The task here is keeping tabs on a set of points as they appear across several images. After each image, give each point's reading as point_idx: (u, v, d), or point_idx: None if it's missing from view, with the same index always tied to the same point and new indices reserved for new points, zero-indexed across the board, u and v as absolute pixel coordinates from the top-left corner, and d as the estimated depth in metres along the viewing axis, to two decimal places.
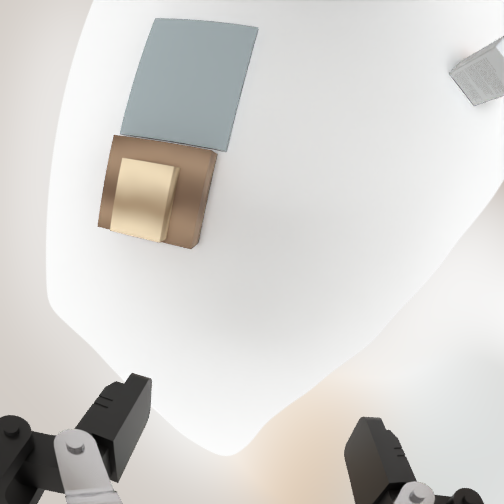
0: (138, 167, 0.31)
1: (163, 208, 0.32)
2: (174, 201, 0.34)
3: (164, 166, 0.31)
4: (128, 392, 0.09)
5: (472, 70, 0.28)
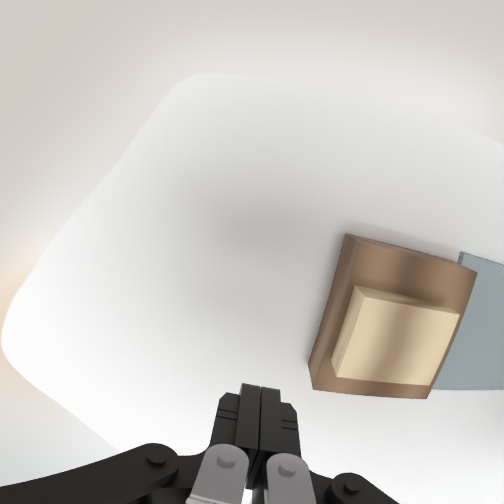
0: (441, 340, 0.20)
1: (383, 380, 0.20)
2: None
3: (433, 374, 0.20)
4: (249, 401, 0.10)
5: None
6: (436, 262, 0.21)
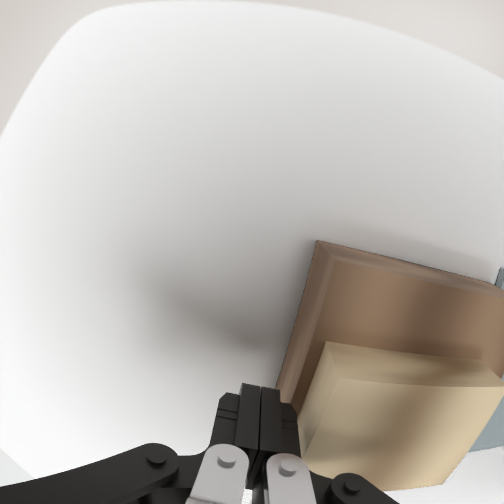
0: (473, 428, 0.09)
1: None
2: None
3: (450, 471, 0.10)
4: (249, 401, 0.10)
5: None
6: (475, 294, 0.11)
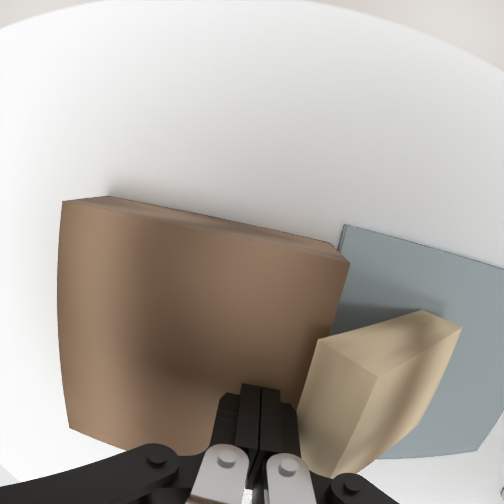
0: (441, 370, 0.13)
1: (376, 457, 0.11)
2: (150, 421, 0.13)
3: (424, 411, 0.14)
4: (249, 402, 0.10)
5: None
6: (222, 237, 0.11)
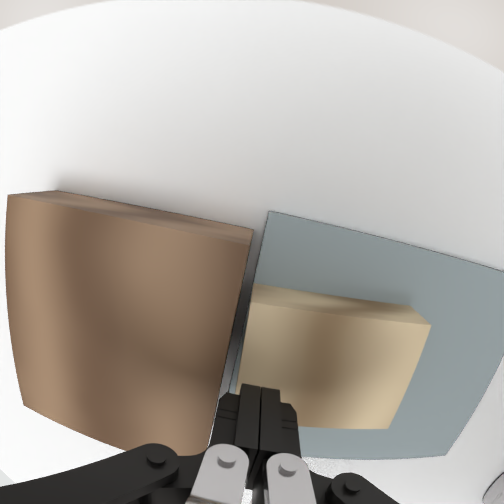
0: (402, 367, 0.13)
1: (307, 424, 0.14)
2: (84, 399, 0.13)
3: (392, 414, 0.13)
4: (249, 401, 0.10)
5: None
6: (127, 221, 0.11)
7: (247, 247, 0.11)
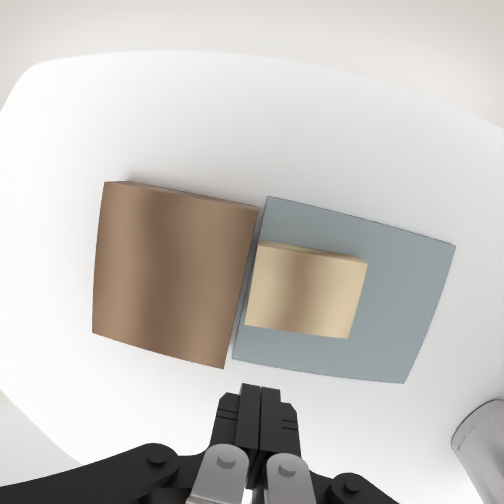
0: (351, 291, 0.23)
1: (293, 330, 0.23)
2: (147, 316, 0.23)
3: (349, 327, 0.23)
4: (249, 401, 0.10)
5: None
6: (190, 199, 0.21)
7: (256, 212, 0.21)
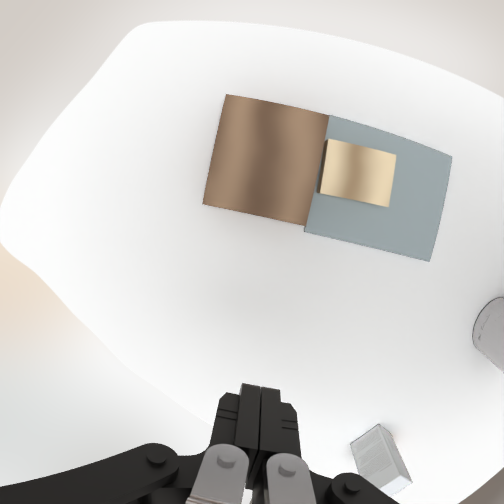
0: (388, 172, 0.33)
1: (352, 198, 0.33)
2: (252, 185, 0.33)
3: (388, 198, 0.33)
4: (249, 402, 0.10)
5: (380, 448, 0.38)
6: (287, 106, 0.31)
7: None
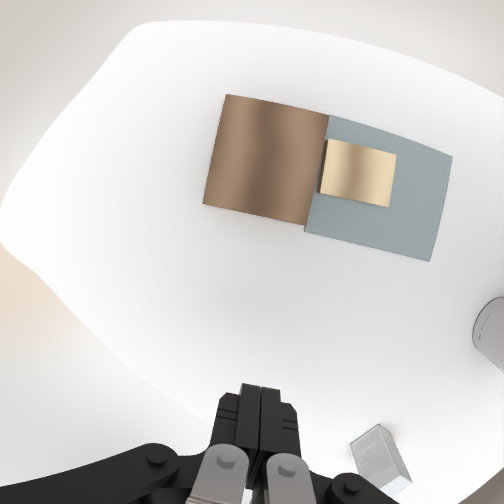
0: (388, 172, 0.33)
1: (352, 197, 0.33)
2: (252, 185, 0.33)
3: (388, 198, 0.33)
4: (249, 401, 0.10)
5: (380, 448, 0.38)
6: (287, 106, 0.31)
7: None
